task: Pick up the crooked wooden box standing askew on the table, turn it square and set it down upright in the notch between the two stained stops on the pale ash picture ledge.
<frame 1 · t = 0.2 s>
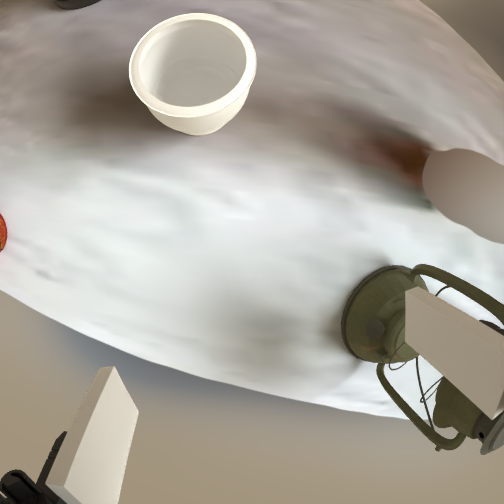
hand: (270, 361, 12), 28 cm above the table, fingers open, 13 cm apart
lantern: (388, 315, 45), on the table
jar: (199, 105, 35), on the table
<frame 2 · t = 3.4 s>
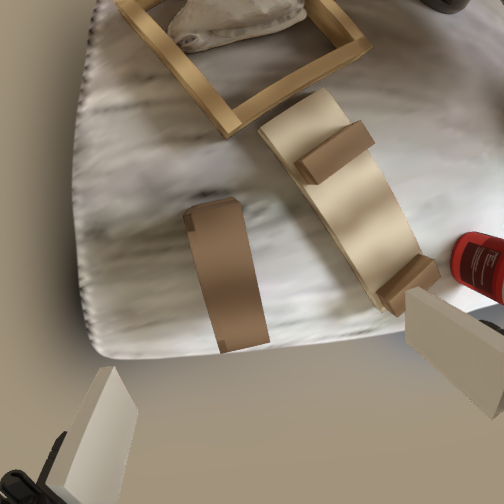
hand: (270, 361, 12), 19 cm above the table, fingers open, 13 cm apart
ledge: (353, 204, 31), on the table
canned food: (465, 256, 35), on the table
shell cradle: (240, 25, 25), on the table
seashell: (238, 21, 25), resting in shell cradle
wooden box: (224, 255, 30), on the table
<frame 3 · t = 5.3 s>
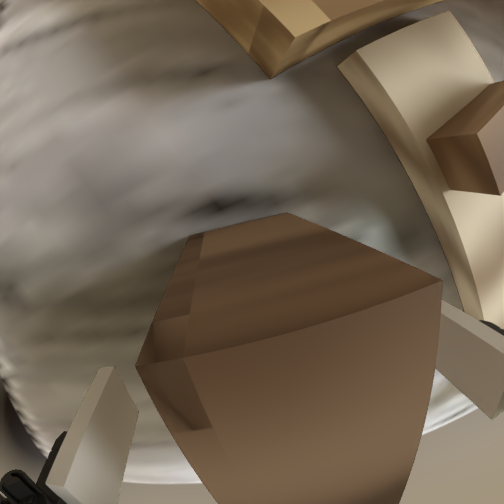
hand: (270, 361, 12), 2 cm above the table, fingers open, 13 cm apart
ledge: (487, 227, 14), on the table
wooden box: (266, 341, 13), on the table
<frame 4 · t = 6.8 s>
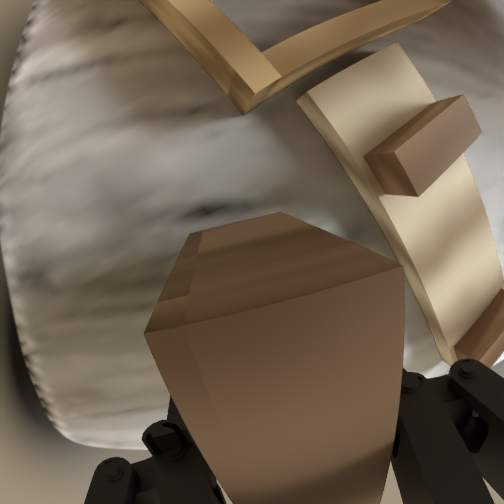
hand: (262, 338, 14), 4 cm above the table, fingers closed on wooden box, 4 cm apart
ledge: (433, 224, 18), on the table
wooden box: (261, 334, 14), point 4 cm above the table, touching gripper
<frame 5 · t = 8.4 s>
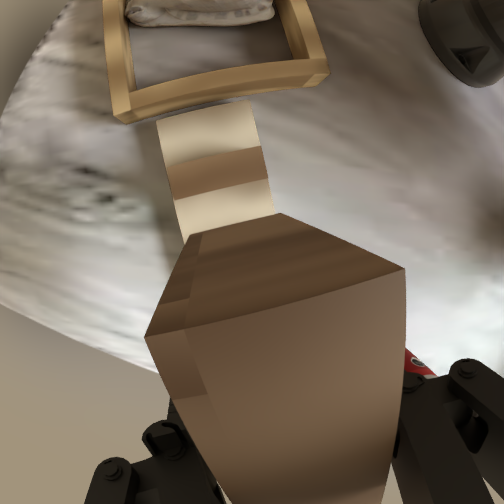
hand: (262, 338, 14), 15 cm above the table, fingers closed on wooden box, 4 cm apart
ledge: (232, 242, 27), on the table
canned food: (365, 355, 33), on the table
shell cradle: (203, 15, 22), on the table
seashell: (204, 8, 22), resting in shell cradle
wooden box: (261, 335, 14), point 14 cm above the table, touching gripper
when the fingers open (3 cm above the table, at t = 10.3 s): wooden box stays where it is, resting on ledge.
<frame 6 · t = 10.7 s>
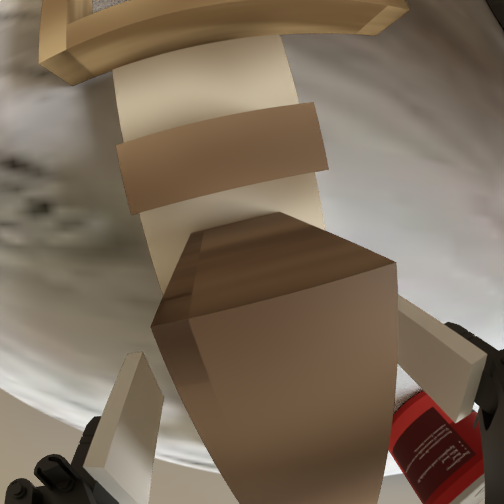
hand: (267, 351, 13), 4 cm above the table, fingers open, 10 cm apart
ledge: (247, 282, 16), on the table
canned food: (417, 415, 21), on the table
wooden box: (261, 332, 14), point 2 cm above the table, touching ledge
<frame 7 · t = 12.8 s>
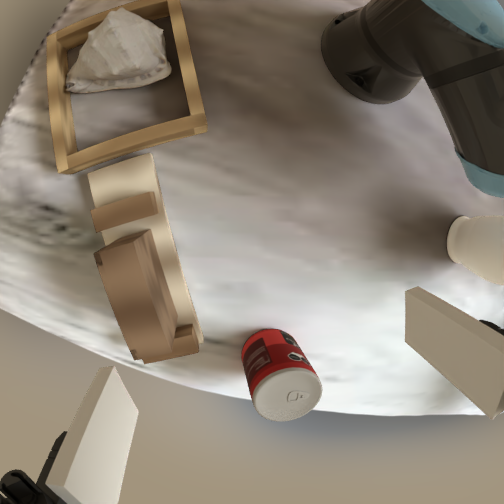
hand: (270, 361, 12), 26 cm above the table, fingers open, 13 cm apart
ledge: (146, 258, 36), on the table
canned food: (268, 350, 41), on the table
shell cradle: (122, 80, 30), on the table
seashell: (124, 70, 30), resting in shell cradle
jar: (460, 239, 43), on the table
wooden box: (148, 278, 34), point 2 cm above the table, touching ledge
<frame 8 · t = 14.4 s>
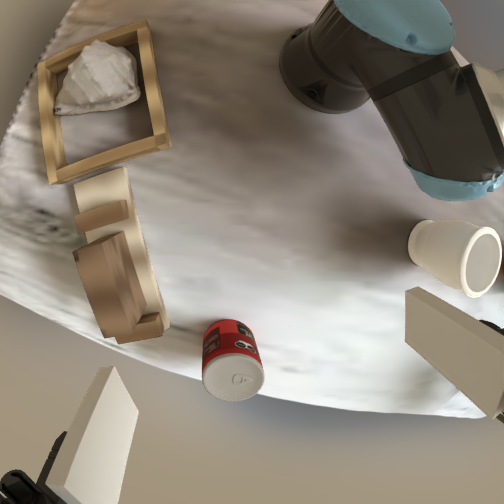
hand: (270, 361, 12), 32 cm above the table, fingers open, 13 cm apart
ledge: (122, 255, 41), on the table
canned food: (228, 338, 46), on the table
shell cradle: (102, 102, 36), on the table
seashell: (103, 93, 36), resting in shell cradle
jar: (424, 242, 47), on the table
wooden box: (122, 271, 40), point 2 cm above the table, touching ledge
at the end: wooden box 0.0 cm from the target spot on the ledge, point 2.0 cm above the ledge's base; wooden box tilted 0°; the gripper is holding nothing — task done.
